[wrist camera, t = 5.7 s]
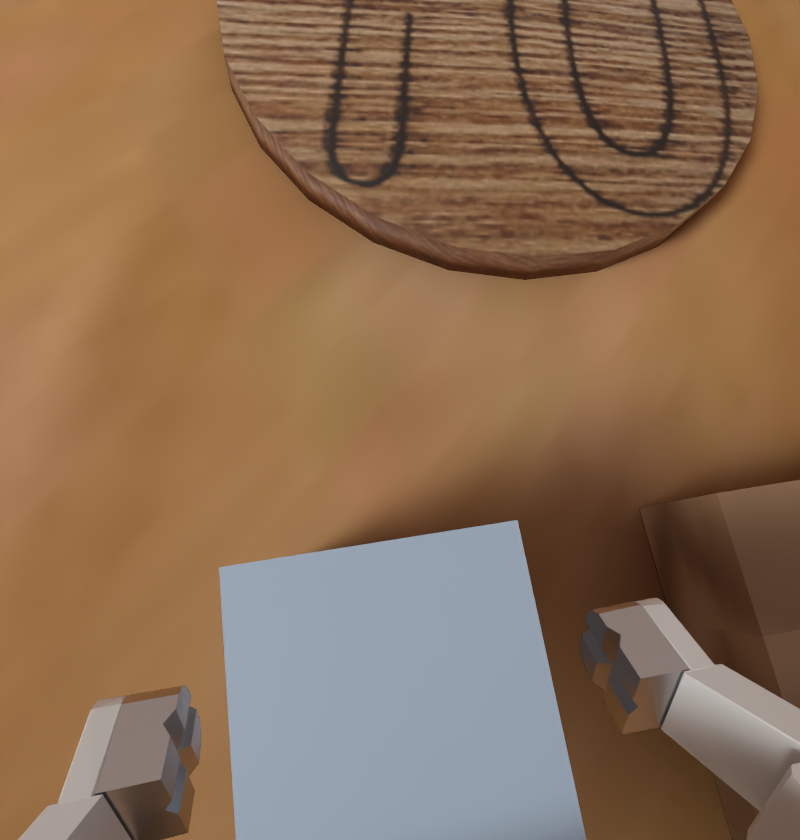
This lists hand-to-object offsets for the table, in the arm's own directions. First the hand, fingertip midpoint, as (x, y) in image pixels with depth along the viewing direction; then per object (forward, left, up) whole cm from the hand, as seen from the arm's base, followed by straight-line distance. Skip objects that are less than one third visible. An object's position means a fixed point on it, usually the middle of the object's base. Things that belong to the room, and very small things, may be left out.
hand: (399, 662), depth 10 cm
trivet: (+21, -16, -7) cm, 27 cm away
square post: (0, 0, -7) cm, 7 cm away
